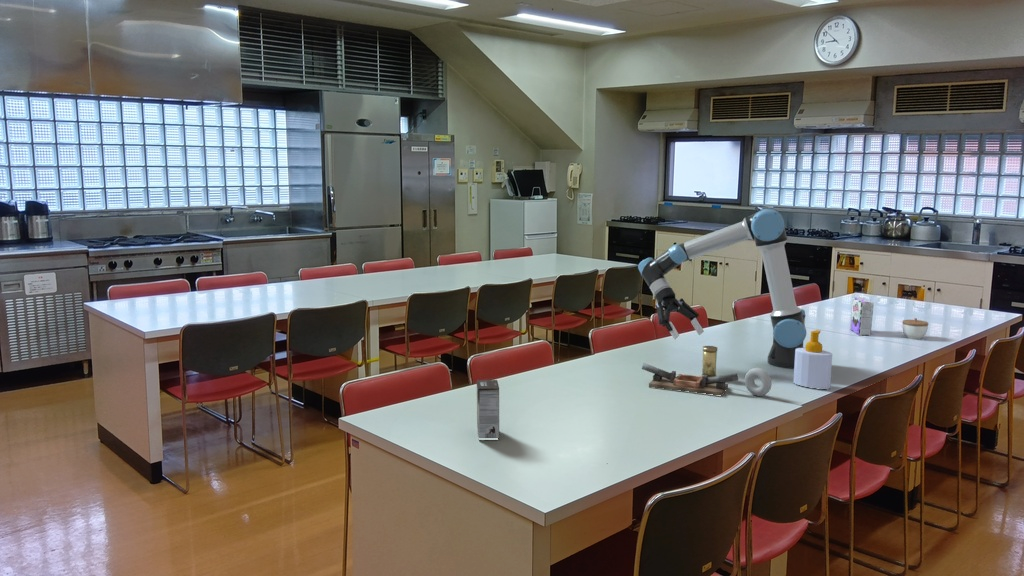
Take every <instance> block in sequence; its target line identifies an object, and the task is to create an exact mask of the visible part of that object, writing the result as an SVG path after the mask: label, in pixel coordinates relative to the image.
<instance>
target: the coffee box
mask: <svg viewBox="0 0 1024 576" xmlns="http://www.w3.org/2000/svg"><path fill="white" fill-rule="evenodd" d="M476 424H477V425H476V426H477V437H479V438H499V439H500V386H499V383H498V380H497V379H477V380H476Z"/></svg>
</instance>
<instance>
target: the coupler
mask: <svg viewBox="0 0 1024 576" xmlns="http://www.w3.org/2000/svg"><path fill="white" fill-rule="evenodd" d="M702 352H703V353H702V374H701V377H703V376H704V375H708V378H709V377H716V376H717V358H718V356H717V354H718V347H717V346H714V345H703V346H702Z"/></svg>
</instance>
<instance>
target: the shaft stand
mask: <svg viewBox="0 0 1024 576" xmlns="http://www.w3.org/2000/svg"><path fill="white" fill-rule="evenodd" d="M641 369H642V370H644V371H647V372H649V373H652V374H653V375H652V380H651V381H650V382H649V383H648V388H650V387H655V388H654V389H658V388H664V389H663V390H665V389H672V390H671V391H673V390H681V391H689V392H697V393H706V394H713V395H721V396H722V397H723V395H724V394H725V393H726V391H727V390H728V389H729V383H730V382H736V381H737V382H738V381H739V374H738V373H733V374H726V375H725V374H724V375H716V377H709V378H708V375H704V376H703V377H702V375H701V376H700V375H693V374H684V373H679V374H677V371H676V370H672V371H670V372H669V371H666V370H664V369H661V368H659V367H656V366H654V365H650V364H648V363H645V362H643V365H642V367H641ZM728 382H729V383H728ZM727 388H728V389H727ZM726 389H727V390H726ZM725 390H726V391H725ZM681 391H680V392H681ZM724 392H725V393H724ZM723 393H724V394H723ZM722 394H723V395H722Z"/></svg>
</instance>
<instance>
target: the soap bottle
mask: <svg viewBox="0 0 1024 576" xmlns="http://www.w3.org/2000/svg"><path fill="white" fill-rule="evenodd" d="M820 333H821V330H818V329H816V330H811V331H810V340H809V341H808V342H806V344H805V347H804V348H796V350H795V364H794V368H793V384H794V383H795V384H794V385H796V384H798V385H801V386H806V387H812V388H819V389H827V390H830V389H831V380H832V365H833V353H832V352H830V351H827V350H825V349H824V350H823V345H822V343H821V342H820V341H819V335H820ZM798 385H797V386H798ZM801 386H800V387H801ZM829 388H830V389H829Z"/></svg>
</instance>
